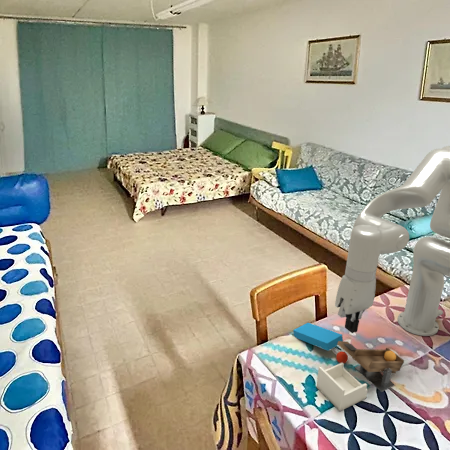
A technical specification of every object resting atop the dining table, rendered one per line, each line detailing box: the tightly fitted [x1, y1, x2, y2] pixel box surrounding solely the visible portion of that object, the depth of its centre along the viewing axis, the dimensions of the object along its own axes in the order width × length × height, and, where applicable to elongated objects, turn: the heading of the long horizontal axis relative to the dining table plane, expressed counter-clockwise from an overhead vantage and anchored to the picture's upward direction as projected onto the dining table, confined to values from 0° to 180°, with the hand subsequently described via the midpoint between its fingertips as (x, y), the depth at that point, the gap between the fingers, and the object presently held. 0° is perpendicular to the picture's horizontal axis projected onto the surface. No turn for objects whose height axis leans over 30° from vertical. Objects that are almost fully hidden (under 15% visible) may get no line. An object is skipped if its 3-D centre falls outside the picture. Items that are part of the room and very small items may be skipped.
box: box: [316, 363, 369, 412], centre depth 106 cm, size 9×9×7 cm
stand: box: [354, 364, 396, 393], centre depth 112 cm, size 5×10×6 cm, turn 28°
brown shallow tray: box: [337, 340, 405, 375], centre depth 113 cm, size 14×12×5 cm
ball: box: [384, 350, 397, 361], centre depth 113 cm, size 3×3×3 cm
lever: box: [292, 322, 349, 364], centre depth 124 cm, size 7×7×18 cm
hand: (350, 329), depth 111 cm, fingers closed
